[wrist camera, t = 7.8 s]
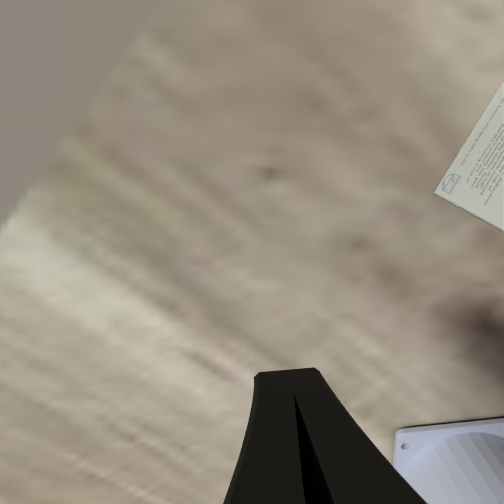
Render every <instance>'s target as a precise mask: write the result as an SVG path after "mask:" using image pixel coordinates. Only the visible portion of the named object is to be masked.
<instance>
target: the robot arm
mask: <svg viewBox="0 0 504 504" xmlns="http://www.w3.org/2000/svg"><path fill="white" fill-rule="evenodd" d="M403 443H404V444H403ZM223 504H504V418H500V419H490V420H481V421H471V422H461V423H452V424H442V425H432V426H423V427H413V428H404V429H400V430H399V431H398V432H397V433H396V435H395V443H394V455H393V466H392V465H391V464H390V463H389V461H388V460H387V459H386V458H385V457H384V456H383V454H382V453H381V452H380V451H379V450H378V449H377V447H376V446H375V445H374V444H373V443H372V441H371V440H370V439H369V438H368V437H367V435H366V434H365V433H364V432H363V431H362V429H361V428H360V427H359V426H358V424H357V423H356V422H355V421H354V419H353V418H352V417H351V416H350V414H349V413H348V412H347V410H346V409H345V408H344V406H343V405H342V404H341V402H340V401H339V399H338V398H337V397H336V395H335V394H334V392H333V391H332V390H331V388H330V387H329V385H328V384H327V382H326V381H325V379H324V378H323V376H322V375H321V373H320V371H318V370H317V369H316V368H303V369H292V370H280V371H269V372H259V373H258V374H257V375H256V376H255V377H254V393H253V401H252V407H251V412H250V417H249V422H248V426H247V429H246V433H245V437H244V441H243V444H242V448H241V452H240V455H239V459H238V462H237V465H236V468H235V471H234V474H233V477H232V480H231V483H230V486H229V488H228V491H227V494H226V497H225V500H224V503H223Z"/></svg>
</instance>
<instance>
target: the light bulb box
mask: <svg viewBox="0 0 504 504" xmlns="http://www.w3.org/2000/svg"><path fill="white" fill-rule="evenodd" d="M434 194H435V195H437V196H439V197H441V198H442V199H444V200H446V201H448V202H450V203H452V204H453V205H455V206H457V207H458V208H460V209H462V210H464V211H465V212H467V213H469V214H471V215H472V216H474V217H476V218H478V219H480V220H481V221H483V222H485V223H487V224H489V225H490V226H492V227H494V228H496V229H497V230H499V231H501V232H503V233H504V81H503V82H502V84H501V85H500V87H499V89H498V90H497V92H496V94H495V95H494V97H493V99H492V100H491V102H490V103H489V105H488V106H487V108H486V109H485V111H484V113H483V114H482V116H481V118H480V119H479V121H478V122H477V124H476V126H475V127H474V129H473V130H472V132H471V134H470V135H469V137H468V139H467V140H466V142H465V144H464V145H463V146H462V148H461V150H460V151H459V153H458V155H457V156H456V158H455V159H454V161H453V163H452V164H451V166H450V167H449V169H448V171H447V172H446V174H445V175H444V177H443V179H442V180H441V182H440V183H439V185H438V187H437V188H436V190H435V192H434Z"/></svg>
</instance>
